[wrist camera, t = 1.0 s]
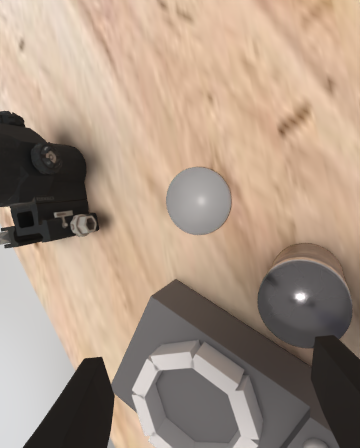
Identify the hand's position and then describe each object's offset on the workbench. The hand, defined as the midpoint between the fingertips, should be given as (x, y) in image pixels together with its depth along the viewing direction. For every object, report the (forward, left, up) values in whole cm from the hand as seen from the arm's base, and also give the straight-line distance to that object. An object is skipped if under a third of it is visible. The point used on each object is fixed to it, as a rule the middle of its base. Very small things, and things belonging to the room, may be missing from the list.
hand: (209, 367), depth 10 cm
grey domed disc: (+7, -2, -12) cm, 14 cm away
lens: (-2, -1, -12) cm, 12 cm away
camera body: (-1, +9, -12) cm, 15 cm away
